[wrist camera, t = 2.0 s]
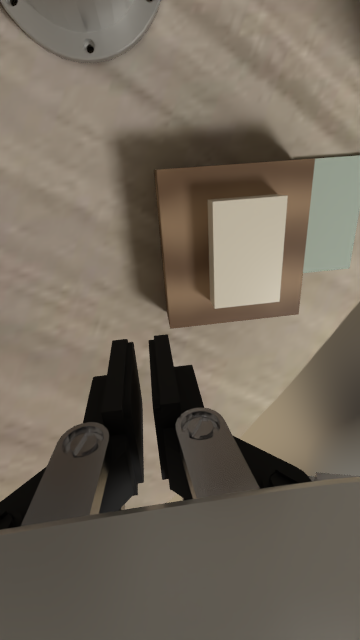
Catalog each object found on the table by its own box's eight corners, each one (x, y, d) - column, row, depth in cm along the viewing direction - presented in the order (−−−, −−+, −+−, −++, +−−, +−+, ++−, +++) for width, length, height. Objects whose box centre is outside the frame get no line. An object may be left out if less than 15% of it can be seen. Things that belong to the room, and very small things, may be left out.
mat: (295, 159, 29) (297, 159, 29) (366, 154, 30) (369, 154, 30) (286, 273, 34) (287, 274, 34) (347, 267, 35) (349, 268, 34)
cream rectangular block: (207, 199, 26) (212, 201, 24) (277, 194, 26) (287, 195, 25) (210, 300, 30) (214, 308, 28) (271, 294, 30) (279, 301, 29)
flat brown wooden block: (154, 170, 28) (156, 169, 25) (293, 160, 29) (315, 158, 26) (166, 312, 34) (170, 328, 31) (282, 299, 35) (298, 314, 32)
